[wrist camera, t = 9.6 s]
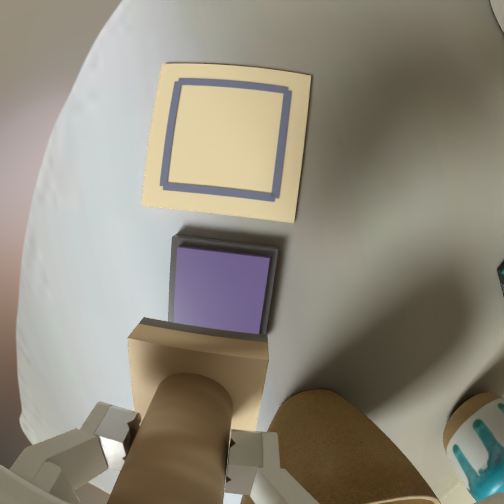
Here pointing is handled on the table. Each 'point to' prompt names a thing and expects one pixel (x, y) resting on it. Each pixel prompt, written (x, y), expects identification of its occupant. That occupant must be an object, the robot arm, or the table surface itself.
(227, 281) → the ink pad
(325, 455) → the plant pot
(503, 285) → the tampon box
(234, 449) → the robot arm
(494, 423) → the vase
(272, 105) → the sheet
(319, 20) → the table surface
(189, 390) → the stamp
